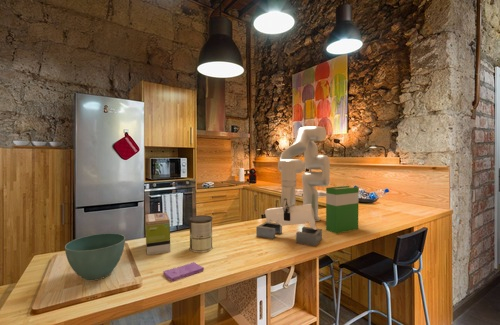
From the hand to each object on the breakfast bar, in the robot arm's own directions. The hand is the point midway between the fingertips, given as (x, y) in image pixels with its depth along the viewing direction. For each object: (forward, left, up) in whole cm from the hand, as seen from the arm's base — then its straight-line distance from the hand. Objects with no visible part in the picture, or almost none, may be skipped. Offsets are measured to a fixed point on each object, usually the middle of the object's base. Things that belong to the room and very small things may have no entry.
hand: (288, 218), depth 132 cm
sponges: (+55, -20, -10) cm, 60 cm away
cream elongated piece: (0, +1, -4) cm, 4 cm away
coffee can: (+33, -30, -10) cm, 46 cm away
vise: (0, 0, -10) cm, 10 cm away
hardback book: (-28, +22, -10) cm, 37 cm away
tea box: (+42, -48, -10) cm, 65 cm away
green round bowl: (+71, -46, -10) cm, 86 cm away
